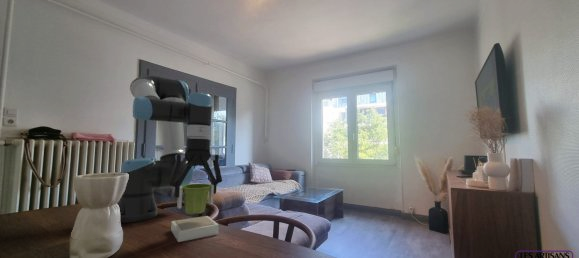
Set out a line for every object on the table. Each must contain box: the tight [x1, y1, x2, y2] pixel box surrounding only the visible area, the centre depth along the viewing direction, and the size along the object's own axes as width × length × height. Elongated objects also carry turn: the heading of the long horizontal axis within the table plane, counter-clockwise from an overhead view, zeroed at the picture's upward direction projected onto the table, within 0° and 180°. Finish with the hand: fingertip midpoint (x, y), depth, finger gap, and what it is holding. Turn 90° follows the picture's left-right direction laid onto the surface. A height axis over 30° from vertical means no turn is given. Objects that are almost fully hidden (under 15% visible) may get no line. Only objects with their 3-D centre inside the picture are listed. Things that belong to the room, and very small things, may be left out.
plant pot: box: [181, 183, 211, 215], centre depth 79 cm, size 9×9×9 cm
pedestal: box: [170, 215, 220, 243], centre depth 79 cm, size 12×12×3 cm
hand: (195, 205), depth 79 cm, fingers closed on plant pot, 9 cm apart
